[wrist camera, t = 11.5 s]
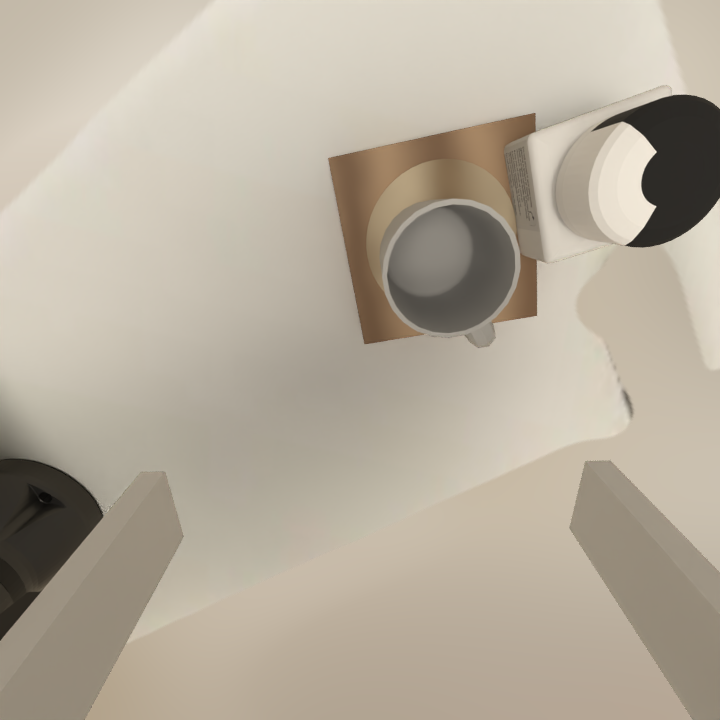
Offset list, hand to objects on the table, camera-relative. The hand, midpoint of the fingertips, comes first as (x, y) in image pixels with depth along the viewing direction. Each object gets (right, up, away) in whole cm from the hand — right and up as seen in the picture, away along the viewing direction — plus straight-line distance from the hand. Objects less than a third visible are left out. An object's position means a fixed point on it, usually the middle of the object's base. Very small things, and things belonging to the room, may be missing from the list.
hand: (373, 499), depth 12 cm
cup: (+5, +12, +17) cm, 21 cm away
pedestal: (+6, +14, +19) cm, 24 cm away
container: (+14, +18, +17) cm, 29 cm away
